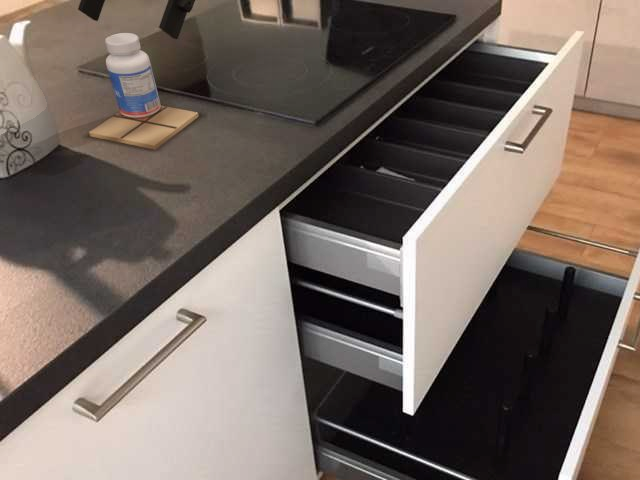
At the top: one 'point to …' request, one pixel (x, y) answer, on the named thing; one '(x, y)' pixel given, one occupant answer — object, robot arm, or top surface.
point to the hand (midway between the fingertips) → (126, 24)
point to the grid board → (145, 127)
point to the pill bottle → (131, 76)
